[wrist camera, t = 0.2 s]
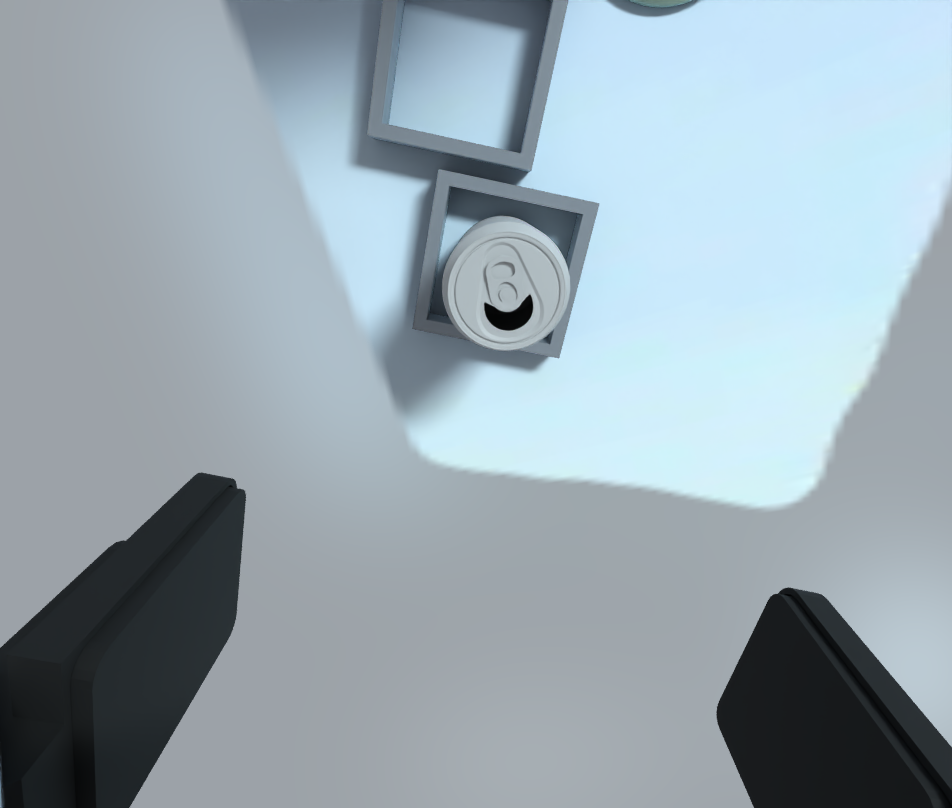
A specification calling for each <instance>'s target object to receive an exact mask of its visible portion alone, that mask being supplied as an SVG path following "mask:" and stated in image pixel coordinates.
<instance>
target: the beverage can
mask: <svg viewBox="0 0 952 808" xmlns="http://www.w3.org/2000/svg"><path fill="white" fill-rule="evenodd" d="M569 294H570V276H569V271H568V267H567V264H566V261H565V259H564V257H563V255H562V253H561V252H560V250H559V249H558V247H557V246H556V245H555V243H554V242H553V241H552V240H551V239H550V238H549V237H548V236H546V235H545V234H544V233H542V232H541V231H539V230H538V229H536V228H534V227H533V226H531V225H530V224H528V223H527V222H525V221H523V220H520V219H518V218H515V217H510V216H494V217H490V218H487V219H484V220H482V221H480V222H478V223H476V224H475V225H474V226H472V227H471V228H470V229H469V230H468V231H467V232H466V233H465V234H464V236H463V237H462V238H461V240H460V241H459V243H458V244H457V246H456V247H455V249H454V250H453V252H452V253H451V255H450V257H449V259H448V261H447V263H446V266H445V269H444V273H443V279H442V296H443V302H444V305H445V309H446V311H447V314H448V316H449V318H450V320H451V321H452V323H453V324H454V326H455V327H456V328H457V330H458V331H459V332H460V333H461V334H462V335H464V336H465V337H466V338H467V339H469V340H470V341H472V342H473V343H475V344H477V345H479V346H482V347H485V348H488V349H491V350H497V351H514V350H519V349H523V348H526V347H529V346H531V345H533V344H535V343H537V342H539V341H540V340H542V339H543V338H545V337H546V336H547V335H548V334H549V333H550V332H551V331H552V330H553V329H554V328H555V327H556V325H557V324H558V323H559V321H560V320H561V318H562V316H563V314H564V312H565V310H566V307H567V304H568V300H569Z"/></svg>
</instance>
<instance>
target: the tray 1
mask: <svg viewBox="0 0 952 808" xmlns="http://www.w3.org/2000/svg"><path fill="white" fill-rule="evenodd" d="M548 1H552V2H551V7H550V11H549V16H548V21H547V26H546V31H545V36H544V40H543V45H542V50H541V55H540V60H539V64H538V69H537V74H536V79H535V84H534V88H533V93H532V98H531V103H530V108H529V112H528V117H527V122H526V127H525V132H524V136H523V141H522V146H521V151H520V153H517V152H512V151H508V150H503V149H498V148H494V147H489V146H485V145H480V144H475V143H471V142H466V141H462V140H457V139H452V138H448V137H443V136H439V135H434V134H430V133H425V132H420V131H416V130H411V129H407V128H402V127H397V126H393V125H389V117H390V110H391V102H392V94H393V87H394V79H395V71H396V64H397V56H398V49H399V41H400V33H401V26H402V18H403V10H404V3H405V0H383V3H382V11H381V19H380V28H379V36H378V45H377V53H376V61H375V70H374V78H373V87H372V95H371V103H370V112H369V120H368V128H367V135H368V136H370V137H372V138H374V139H378V140H383V141H388V142H392V143H397V144H401V145H406V146H411V147H415V148H420V149H425V150H429V151H434V152H438V153H443V154H448V155H452V156H457V157H462V158H466V159H471V160H475V161H480V162H485V163H489V164H494V165H499V166H503V167H508V168H512V169H517V170H522V171H526V172H530V171H531V170H532V165H533V161H534V156H535V152H536V147H537V142H538V138H539V133H540V129H541V124H542V119H543V115H544V110H545V105H546V101H547V96H548V92H549V87H550V82H551V78H552V73H553V69H554V64H555V59H556V55H557V50H558V45H559V41H560V36H561V32H562V27H563V22H564V18H565V13H566V9H567V4H568V0H548Z"/></svg>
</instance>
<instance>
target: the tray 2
mask: <svg viewBox="0 0 952 808" xmlns="http://www.w3.org/2000/svg"><path fill="white" fill-rule="evenodd" d="M451 186H452V187H457V188H462V189H466V190H471V191H476V192H481V193H485V194H490V195H495V196H499V197H504V198H509V199H513V200H518V201H523V202H527V203H532V204H537V205H541V206H546V207H551V208H555V209H560V210H565V211H569V212H574V213H578V215H577V219H576V223H575V227H574V231H573V235H572V239H571V243H570V247H569V251H568V255H567V259H566V264H567V267H568V271H569V276H570V294H569V300H568V304H567V307H566V310H565V312H564V314H563V316H562V318H561V320H560V321H559V323H558V324H557V325H556V327H555V328H554V329H553V330H552V331H551V332H550V333H549V334H548V335H547V337H545V338H543V339H542V340H540V341H539V342H537V343H535V344H533V345H531V346H529V347H526V348H523V349H519V350H520V351H525V352H530V353H535V354H540V355H545V356H550V357H555V358H559V357H560V353H561V349H562V345H563V341H564V337H565V334H566V330H567V326H568V322H569V318H570V314H571V311H572V307H573V303H574V299H575V295H576V291H577V288H578V284H579V280H580V276H581V272H582V268H583V265H584V261H585V257H586V253H587V249H588V245H589V242H590V238H591V234H592V230H593V226H594V222H595V219H596V215H597V211H598V207H599V203H595V202H590V201H585V200H581V199H576V198H571V197H567V196H562V195H557V194H553V193H548V192H544V191H539V190H534V189H530V188H525V187H520V186H516V185H511V184H506V183H502V182H497V181H492V180H488V179H483V178H478V177H474V176H469V175H464V174H460V173H455V172H450V171H446V170H441V169H438V175H437V181H436V187H435V194H434V200H433V206H432V212H431V218H430V224H429V230H428V237H427V243H426V249H425V255H424V261H423V267H422V273H421V280H420V286H419V292H418V298H417V304H416V310H415V316H414V323H413V329H415V330H420V331H425V332H430V333H435V334H440V335H445V336H450V337H455V338H460V339H465V340H469V339H467V338H466V337H465V336H464V335H462V334H461V333H460V332H459V331H458V330H457V328H456V327H455V326H454V324H453V323H452V321H451V320H450V318H449V317H446V316H441V315H436V314H431V313H430V308H431V302H432V296H433V290H434V285H435V279H436V273H437V267H438V261H439V255H440V250H441V244H442V238H443V232H444V226H445V221H446V215H447V209H448V203H449V197H450V192H451Z"/></svg>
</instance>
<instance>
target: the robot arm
mask: <svg viewBox="0 0 952 808" xmlns="http://www.w3.org/2000/svg"><path fill="white" fill-rule="evenodd" d="M245 501H246V494H245V491H244V490H242V489H237V486H236V481H235V480H234V479H231V478H226V477H221V476H216V475H211V474H206V473H198V474H196V475H195V476H194V477H193V478H192V479H191V480H190V481H189V482H187V483H186V484H185V485H184V486H183V487H182V488H181V489H180V490H179V491H178V492H177V493H176V494H175V495H174V496H173V497H172V498H171V499H170V500H168V501H167V503H165V504H164V505H163V506H162V507H161V508H160V509H159V510H158V511H157V512H156V513H155V514H154V515H153V516H152V517H151V518H150V519H148V520H147V522H145V523H144V524H143V525H142V526H141V527H140V528H139V529H138V530H137V531H136V532H135V533H134V534H133V535H132V536H131V537H130V538H129V539H127V541H120V542H116V543H115V544H113V545H112V546H110V547H109V548H108V549H107V550H106V551H105V552H103V553H102V554H101V555H100V556H99V557H98V558H97V559H96V560H95V561H94V562H93V563H92V564H90V565H89V566H88V567H87V568H86V569H85V570H84V571H83V572H82V573H81V574H80V575H79V576H78V577H76V578H75V579H74V580H73V581H72V582H71V583H70V584H69V585H68V586H67V587H66V588H65V589H63V590H62V591H61V592H60V593H59V594H58V595H57V596H56V597H55V598H54V599H53V600H52V601H51V602H49V604H47V605H46V606H45V607H44V608H43V609H42V610H41V611H40V612H39V613H38V614H36V615H35V616H34V617H33V618H32V619H31V620H30V621H29V622H28V623H27V624H26V625H25V626H24V627H22V628H21V629H20V630H19V631H18V632H17V633H16V634H15V635H14V636H13V637H12V638H11V639H9V640H8V641H7V642H6V643H5V644H4V645H3V646H2V647H1V648H0V808H129V807H130V805H131V804H132V802H133V800H134V799H135V797H136V795H137V794H138V792H139V790H140V789H141V787H142V785H143V783H144V782H145V780H146V778H147V777H148V775H149V773H150V772H151V770H152V768H153V766H154V765H155V763H156V761H157V760H158V758H159V756H160V754H161V753H162V751H163V749H164V748H165V746H166V744H167V743H168V741H169V739H170V737H171V736H172V734H173V732H174V731H175V729H176V727H177V726H178V724H179V722H180V720H181V719H182V717H183V715H184V714H185V712H186V710H187V708H188V707H189V705H190V703H191V702H192V700H193V698H194V697H195V695H196V693H197V691H198V690H199V688H200V686H201V685H202V683H203V681H204V680H205V678H206V676H207V674H208V673H209V671H210V669H211V668H212V666H213V664H214V663H215V661H216V659H217V657H218V656H219V654H220V652H221V651H222V649H223V647H224V645H225V644H226V642H227V640H228V638H229V637H230V635H231V632H232V630H233V627H234V623H235V620H236V613H237V601H238V589H239V576H240V575H239V574H240V563H241V551H242V538H243V526H244V513H245ZM717 722H718V725H719V728H720V730H721V733H722V735H723V737H724V740H725V742H726V744H727V747H728V749H729V751H730V753H731V756H732V758H733V760H734V763H735V765H736V767H737V770H738V772H739V774H740V777H741V779H742V781H743V783H744V786H745V788H746V790H747V793H748V795H749V797H750V799H751V802H752V804H753V806H754V808H952V747H951V746H950V745H949V744H948V742H947V741H946V740H945V739H944V738H943V736H942V735H941V734H940V733H939V732H938V731H937V729H936V728H935V727H934V726H933V724H932V723H931V722H930V721H929V720H928V719H927V717H926V716H925V715H924V714H923V713H922V711H921V710H920V709H919V708H918V707H917V705H916V704H915V703H914V702H913V701H912V700H911V698H910V697H909V696H908V695H907V694H906V692H905V691H904V690H903V689H902V688H901V686H900V685H899V684H898V683H897V682H896V681H895V679H894V678H893V677H892V676H891V675H890V673H889V672H888V671H887V670H886V669H885V667H884V666H883V665H882V664H881V663H880V662H879V660H878V659H877V658H876V657H875V656H874V654H873V653H872V652H871V651H870V650H869V648H868V647H867V646H866V645H865V644H864V643H863V641H862V640H861V639H860V638H859V637H858V635H857V634H856V633H855V632H854V631H853V629H852V628H851V627H850V626H849V625H848V624H847V622H846V621H845V620H844V619H843V618H842V616H841V615H840V614H839V613H838V612H837V610H836V609H835V608H834V607H833V606H832V605H831V603H830V602H829V601H828V600H827V599H826V598H825V597H824V596H823V595H821V594H818V593H814V592H808V591H803V590H798V589H793V588H785V589H783V590H781V591H780V592H779V593H778V594H774V595H772V596H771V597H770V599H769V600H768V602H767V604H766V606H765V608H764V610H763V612H762V614H761V616H760V618H759V621H758V622H757V625H756V627H755V629H754V631H753V633H752V635H751V637H750V639H749V641H748V643H747V645H746V647H745V649H744V651H743V654H742V655H741V658H740V659H739V662H738V664H737V666H736V668H735V670H734V672H733V674H732V676H731V678H730V680H729V682H728V684H727V686H726V688H725V690H724V692H723V694H722V697H721V698H720V701H719V703H718V706H717Z"/></svg>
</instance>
